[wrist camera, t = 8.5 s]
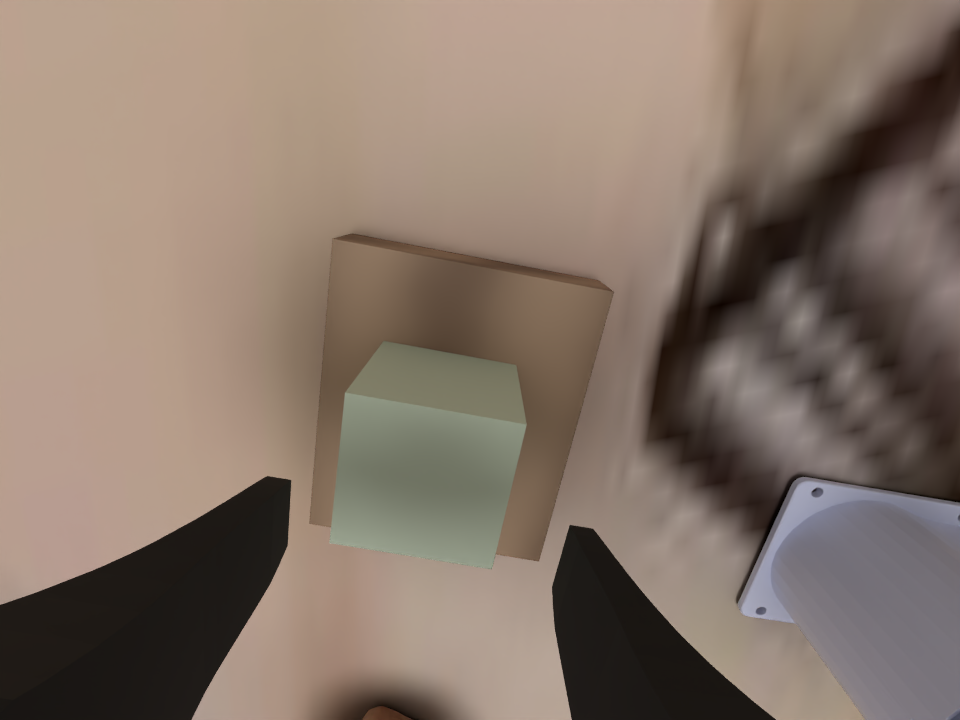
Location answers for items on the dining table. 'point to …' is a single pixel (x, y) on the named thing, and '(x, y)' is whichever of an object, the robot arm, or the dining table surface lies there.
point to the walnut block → (465, 354)
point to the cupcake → (384, 714)
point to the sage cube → (428, 455)
